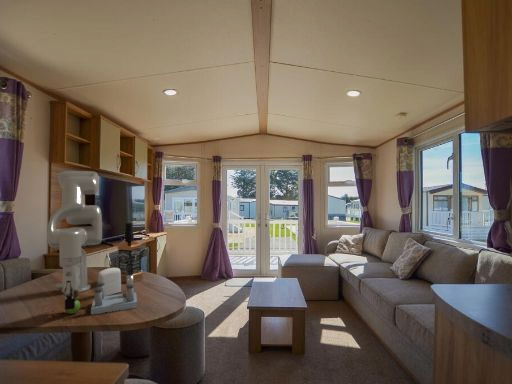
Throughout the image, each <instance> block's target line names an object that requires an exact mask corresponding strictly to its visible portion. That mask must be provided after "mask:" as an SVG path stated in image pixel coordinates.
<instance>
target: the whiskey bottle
mask: <svg viewBox="0 0 512 384" xmlns="http://www.w3.org/2000/svg"><path fill="white" fill-rule="evenodd" d="M133 228H134V227H133V222H126V223H125V228H124V229H125V233H124V241H122V242H121V243H119V244H118V245H117V251H118V252H117V253H118V256H117V261H118V262H117V264H118V267H117V268H119V269H120V271H121V283H125V284H127V276H128V275H133V283H135V282H138V281H141V280H143V271H142V261H141V248H142V244H141V243H140V242H137V241H135V240H134V232H133V231H134V230H133Z"/></svg>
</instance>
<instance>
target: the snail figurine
mask: <svg viewBox="0 0 512 384" xmlns="http://www.w3.org/2000/svg"><path fill="white" fill-rule="evenodd" d="M72 290H73V289H70V291H72ZM70 293H71V294H72V292H70ZM79 294H80V292H79V290H77V291H75V290H74V298H75V308H74V309H67V310H66V309H65V308H64V310H65V312H66V313H67V314H76V313H77V312H78V311H79V310H80V308H81V302H80V300H78V299H79V298H80V296H79ZM63 295H64V296H65V292H64V293H63Z"/></svg>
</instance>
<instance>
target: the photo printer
mask: <svg viewBox="0 0 512 384" xmlns="http://www.w3.org/2000/svg"><path fill="white" fill-rule="evenodd" d="M97 278H98V279H97V283H100V282H104V296H111V295H116V294H120V293H121V292H122V282H121V271H120V269H119V268H118V267H110V268H105V269H103V270H101V271H99V272H98V273H97Z"/></svg>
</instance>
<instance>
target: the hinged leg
mask: <svg viewBox="0 0 512 384" xmlns="http://www.w3.org/2000/svg"><path fill="white" fill-rule="evenodd" d="M129 284H134V282H133V275H128V276H127V283H126V285H129Z"/></svg>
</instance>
